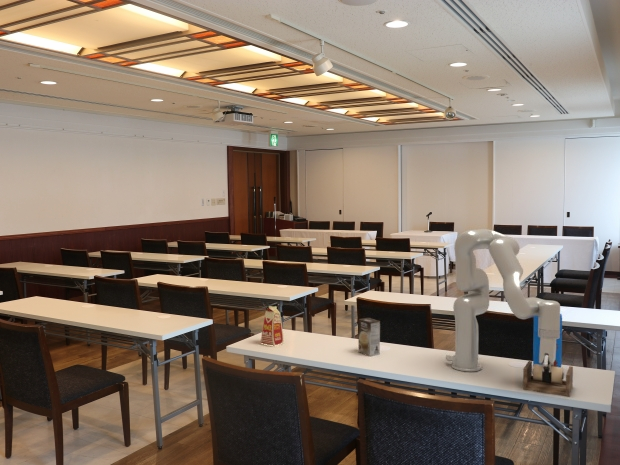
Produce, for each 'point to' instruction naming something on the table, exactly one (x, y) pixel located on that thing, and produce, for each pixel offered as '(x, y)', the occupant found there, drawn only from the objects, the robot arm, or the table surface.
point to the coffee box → (369, 336)
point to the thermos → (537, 345)
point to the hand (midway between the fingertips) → (547, 379)
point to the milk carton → (272, 327)
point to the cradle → (546, 387)
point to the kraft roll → (556, 371)
